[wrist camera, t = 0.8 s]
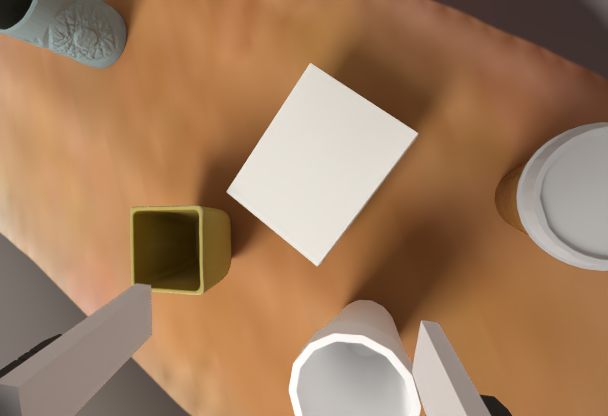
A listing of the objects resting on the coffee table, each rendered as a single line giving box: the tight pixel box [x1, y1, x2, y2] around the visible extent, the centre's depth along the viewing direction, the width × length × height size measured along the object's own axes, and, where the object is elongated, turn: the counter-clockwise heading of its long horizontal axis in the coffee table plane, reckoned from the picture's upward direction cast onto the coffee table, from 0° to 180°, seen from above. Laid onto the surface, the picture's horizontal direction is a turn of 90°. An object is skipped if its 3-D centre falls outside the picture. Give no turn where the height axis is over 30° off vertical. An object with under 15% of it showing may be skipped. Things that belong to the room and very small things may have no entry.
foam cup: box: [289, 300, 421, 416], centre depth 29 cm, size 10×9×13 cm
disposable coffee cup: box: [495, 122, 608, 271], centre depth 25 cm, size 10×10×12 cm
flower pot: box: [130, 205, 231, 295], centre depth 36 cm, size 9×9×9 cm
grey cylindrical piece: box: [0, 0, 127, 68], centre depth 38 cm, size 10×10×12 cm
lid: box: [227, 63, 418, 266], centre depth 31 cm, size 12×15×2 cm
